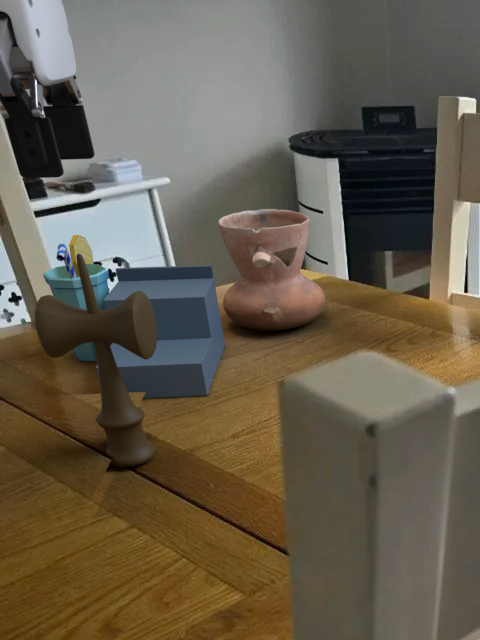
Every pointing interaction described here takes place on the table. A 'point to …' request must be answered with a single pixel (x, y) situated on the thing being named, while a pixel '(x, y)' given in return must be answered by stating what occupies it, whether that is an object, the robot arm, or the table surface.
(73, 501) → the table surface
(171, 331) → the step rack
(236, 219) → the ceramic jug
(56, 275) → the cup
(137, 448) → the kendama
